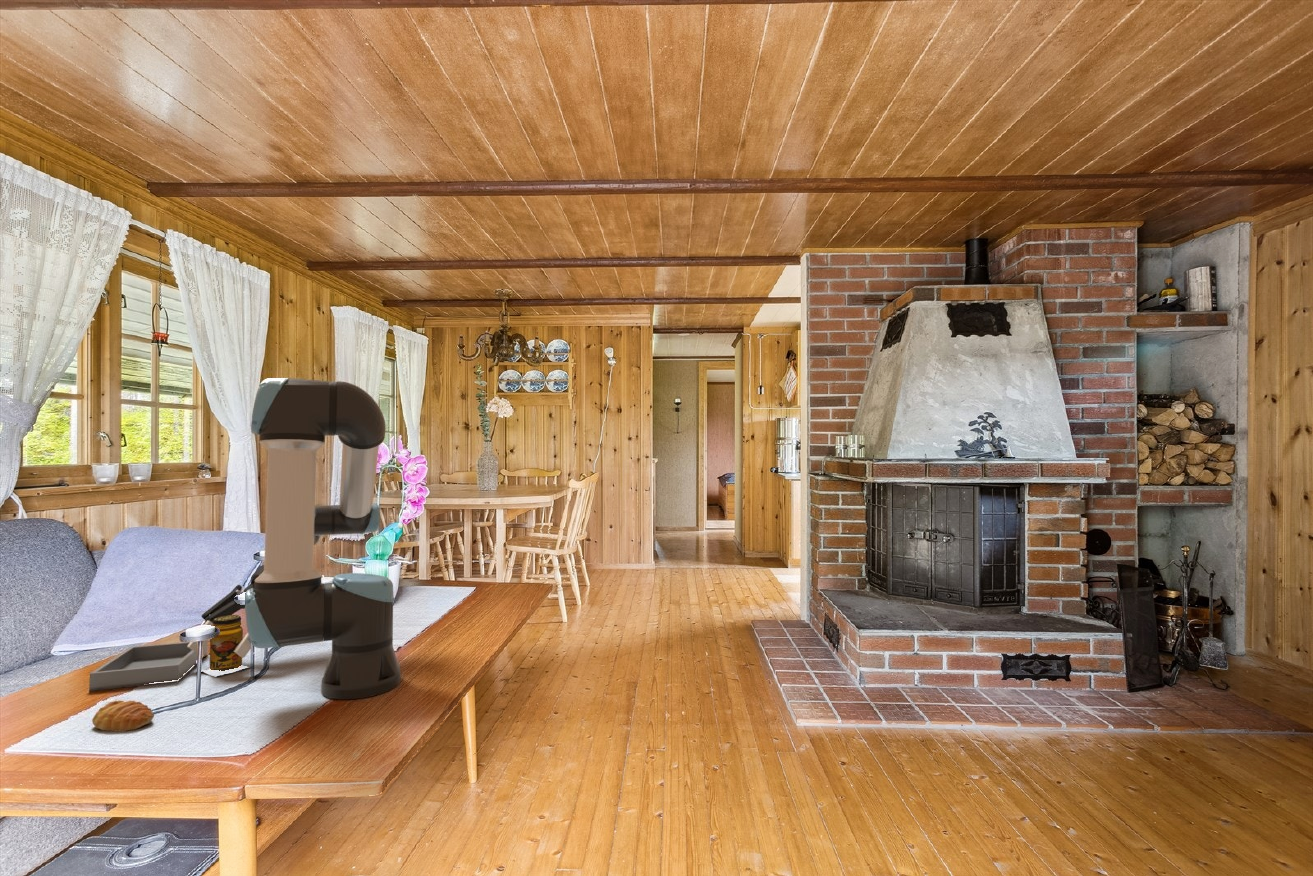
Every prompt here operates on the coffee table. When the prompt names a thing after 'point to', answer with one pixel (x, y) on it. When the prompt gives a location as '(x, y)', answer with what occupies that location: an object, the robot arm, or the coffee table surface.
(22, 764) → the coffee table surface
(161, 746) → the coffee table surface
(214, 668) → the condiment
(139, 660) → the tray
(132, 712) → the pastry
